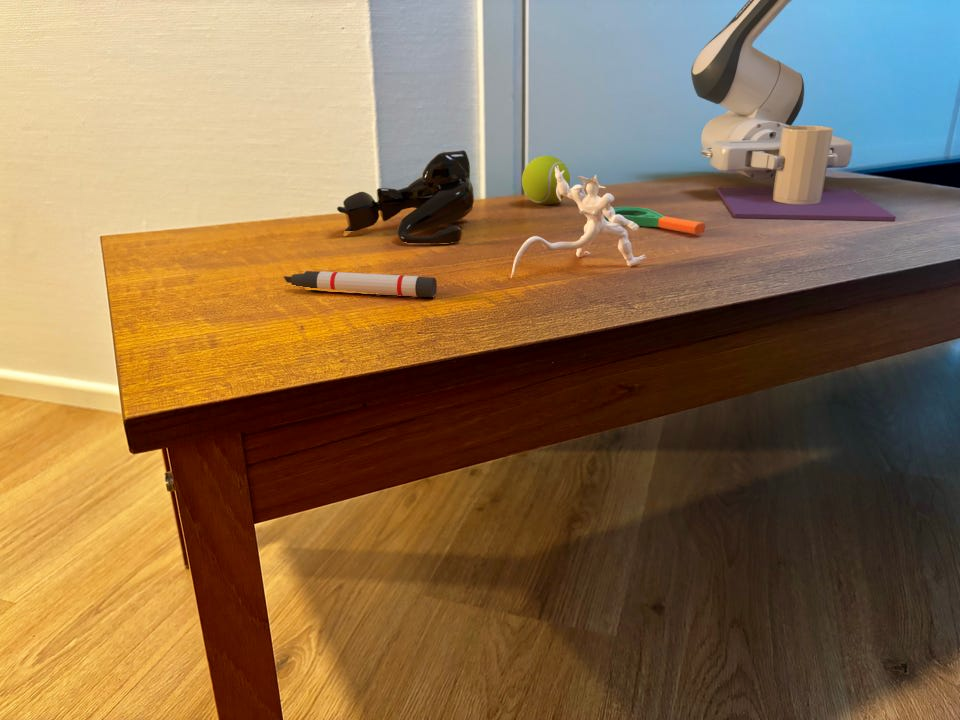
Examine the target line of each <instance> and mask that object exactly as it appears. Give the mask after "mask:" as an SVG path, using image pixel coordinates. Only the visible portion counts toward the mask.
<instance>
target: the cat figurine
mask: <svg viewBox="0 0 960 720" xmlns="http://www.w3.org/2000/svg"><path fill="white" fill-rule="evenodd" d="M474 194H475V193H474V187H473V184H472V181H471V165H470V159H469V156H468V153H467V152H466V151H465V150H463V149H462V150H457V151H456V150H455V151H442V152H440V153H438V154H436V155H435V156H434V157H432V159H431V160H429V162H428V163H427V164H426V166H425V167H424V169H423V171H422V173H421V176H420V177H418V178H416V179H414V180H413V181H412V182H411V183H410V184H408V185H407V186H406V187H402V188H400V189H396V188H389V187H379V188H377V189H376V200H377V201H375V199H374V198H373V196H372V195H371V194H369V193H368V192H366V191H358V192H355V193H353V194H351V195H349V196H347V197H346V198H345V199H344V200H343V206H337V208H336V210H337V211H338V212H339V213H340V214H341V213H342V214H345V219H346V223H347V227H346V228H345V229H344V230H345V231H354V232H357V231H360V230H364V229H368V228H370V227H373V226H374V225H376V223H377V222H378V220H379V219H380V217H381V221H383V222H387V221H388V220H390V219H392V218H394V217H395V216H397V215H398V214H400V212H402V211H404V210H407V209H413V210H412V211H410V213H408V214H407V215H406V216H404V217H403V218H402V219H401V221H400V222H399V224H398V227H397V236H398V239H399V241H401V243H403V242H407V243H431V244H438V243H451V242H457V243H459V242H460V241H461V239H462V235H463V231H462V228H461V227H460V226H458V225H456V224H453V223H455V222H458V221H460V220H462V219H463V218H465V217H466V216H468V215H469V214H470V213H471V212H472V211H473V208H474V202H475V195H474ZM450 224H451V225H450ZM445 225H448V226H447V227H445V228H442V229H439V230H437V231H436V232H434V234H433V235H423V236H421V235H419V236H418V235H412V234H414V233H417V232H422V231H425V230H430V229H434V228H437V227H441V226H445ZM407 243H406V244H407Z"/></svg>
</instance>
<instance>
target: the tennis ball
mask: <svg viewBox="0 0 960 720" xmlns="http://www.w3.org/2000/svg"><path fill="white" fill-rule="evenodd" d="M557 165H558V167H559V171H560V172H562V171H563V170H564V173H563V174H562V175H563V178H564V180H565V181H566V182H567V183H568V185H569V186H571V185H570V184H571V174H570V171H569V168H568V167H567V165H566V164H565V163H564V162H563V161H562V160H561V159H559V158H558V157H555V156H552V155H541V156H537V157H535V158H533V159H531V161H529V162H528V164H527V165H526V166H525V168H524V170H523V172H522V176H521V185H522V186H521V187H522V189H523V192H524V194H525V195H526V196H527V198H528V199H529V200H530V201H532V202H534V203H535V204H538V205H543V206H548V205H553V204H555V203H557V202H559V201H560V200H559V198H558V197H557V194H556V188H557V179H556V177H555V174H556V173H555V167H556V168H557ZM557 170H558V169H557ZM564 197H565V196H563V195H561V200H562V199H563V198H564Z"/></svg>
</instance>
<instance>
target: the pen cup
mask: <svg viewBox="0 0 960 720" xmlns="http://www.w3.org/2000/svg"><path fill="white" fill-rule="evenodd" d="M833 134H834V128H833V127H830V126H824V125H823V126H821V125H792V126H785V127H783V128H782V135H781V142H780V149H779V155H781V156H784V162H783V164H784V166H783V168H782V169H777V170H776V176H774V184H773V185H774V186H773V188H774V191H773V200H774V201H777V202H781V203H786V204H797V205H810V204H817V203H820V202H821V197H822V193H823V189H824V187H825V181H826V175H827V169H828V168H827V163H828V158H829V152H830V146H831V140H832V135H833Z"/></svg>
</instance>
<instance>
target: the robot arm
mask: <svg viewBox="0 0 960 720" xmlns="http://www.w3.org/2000/svg"><path fill="white" fill-rule="evenodd" d="M792 1H793V0H747V2H746V3H745V4H744V5H743V6H742V8H741V9H740V10H739V11H738V12H737V13H736V14H735V15H734V17H733V18H732V19H731V20H730V21H729V22H728V24H727V25H725V26H724V27H723V28H722V29H721V31H719V32H718V33H716V35H715V36H714V37H712V38H711V40H709V42H707V44H705V46H704V47H703V48H702V49H701V50H700V52H699V53H698V55H697V56H696V58H695V60H694V61H693V64H692V67H691V70H690V75H691V76H690V77H691V81H692V86H693V89H694V91H695V93H696V95H697V97H699V98H700V99H703V100H705V101H708V102H710V103H714V104H715V105H720V106H721V107H723V108H725V109H726V110H727V111H726V112H724V113H723V114H720V115H717V116H715V117H713V118H712V119H710V120H709V121H708V122H707V123H706V124H705V126H704V127H703V129H702V132H701V135H700V141H701V147H702V148H701V149H702V150H701V152H700V154H701V157H704V158H708V159H709V165H710V166H711V167H712V168H714V169H716V170H718V171H719V172H720V171H721V172H735V173H737V174H739V175H742V176H745V177H748V178H751V179H754V180H767V179H770V178H772V177H776V170H777V169H782V168H783V166H784V164H783V162H784V156H781V155H779V149H780V142H781V135H782V128H783V127H785V126H793V124H794V122H795V121H796V119H797V117H798V116H799V114H800V112H801V110H802V107H803V105H804V100H805V82H804V78H803V76H802V74H801V73H800V72H798V71H796V69H793V68H791V67H790V66H788V65H786V64H785V63H783V62H781V61H779V60H777V59H774V58H773V57H771V56H770V55H768V54H766V53H764V52H762V51H761V50H759V49H758V48H756V47H754V46H753V44H754V42H755V41H756V40H757V39H758V38H759V37H760V35H762V33H763V32H764V31H765V30H766V29H767V28H768V26H770V24H771V23H772V22H773V21H774V20H775V19H776V18H777V17H778V16H779V14H780V13H781V12H782V11H783V10H784V9H785V8H786V7H787V6H788V4H790V3H791V2H792ZM852 154H853V143H852V141H850V140H848V139H846V138H843V137H839V136H836V135H833V134H832V140H831V146H830V152H829V158H828V163H827V169H836V168H837V169H838V168H839V169H842V168H843V169H844V168H846V167H848V166H849V164H850V162H851V160H852Z"/></svg>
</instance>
